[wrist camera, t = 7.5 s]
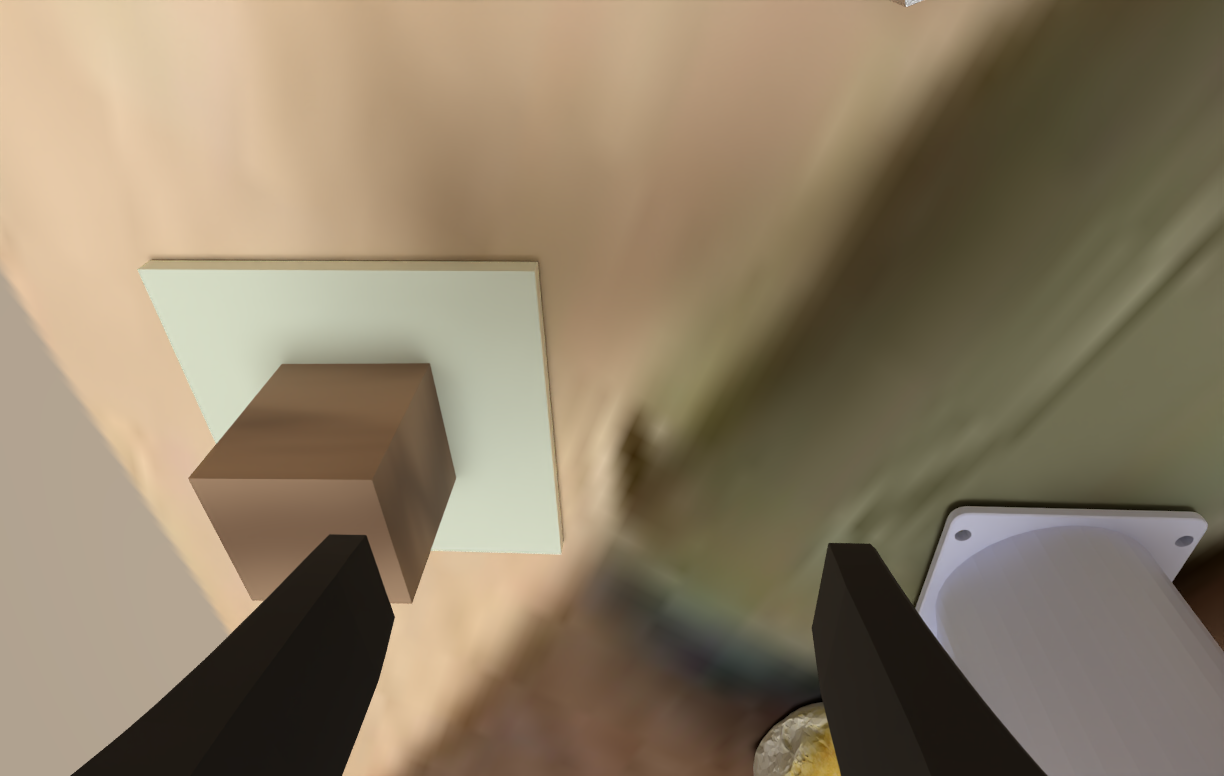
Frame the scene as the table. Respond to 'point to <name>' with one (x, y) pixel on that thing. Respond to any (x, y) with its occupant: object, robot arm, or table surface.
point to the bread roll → (798, 746)
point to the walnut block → (331, 472)
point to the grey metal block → (906, 2)
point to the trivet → (390, 333)
